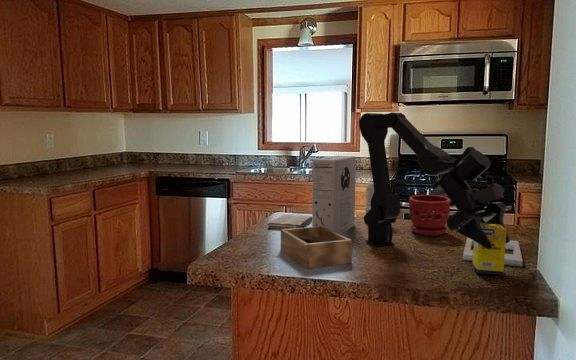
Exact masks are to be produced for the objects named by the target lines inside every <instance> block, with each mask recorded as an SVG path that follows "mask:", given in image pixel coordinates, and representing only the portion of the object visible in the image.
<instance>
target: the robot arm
mask: <svg viewBox="0 0 576 360" xmlns="http://www.w3.org/2000/svg"><path fill="white" fill-rule="evenodd" d="M358 127H359V131H360V134H361V135H360V136H361V137H362V138H363V139H364V141H365V142H366V144H367V148H368V155H369V156H368V157H369V164H370V169H371V176H372V177H371V178H372V182H373V185H374V193H373V196H372V199H371V210H370V211H369V212H368V213H367V214H366V213H365V215H364V216H363V222H364V224H365V225H367V229H368V230H367V233H368V234H367V239H365V241H364V242H366V243H368V244H370V245H372V246H374V247H383V246H384V247H385V246H391V245H392V246H393V245H395V242H393V232H394V231H393V227H392V224H395V223H396V221H397V217H398V216H399V215H400V214H401V208H402V207H403V206H402V204H401V196H400V194H399V193H395V192H394V191H393V189H392V187H391V180H390V173H389V164H388V157H387V151H386V145H385V142H386V139H387V135H388V133H389V130H388V129H392V130H393V132H395V133H396V134H397V135H398V136H399V137H400V139H401V140H402V141H403V142H404V144H406V145H407V146H408V147H409V149H411V150H412V152H413V153H414V155H415V156H416V158H417V159H416V160H417V163H418V165H419V166H420V168H421V169H422V171H423V172H424V173H425V174H426V175H428V176H437V175H441V176H440V177H439V178H435V179H433V184H432V187H431V189H432V190H442V191H443V193H444V194H445V195H446V197H447V198H449V199H450V203H449V204H450V208H452V207H453V208H454V207H455V208H456V209H457V211H456V212H454V213H453V214H452V215H451V216H449V218H448V219H447V223H446V225H445V226H446V228H447V229H449V231H450V233H451V232H455V231H456V234H461V235H462V236H464V237H466V238H467V237H468V238H470V239H472V240H474V241H475V242H477V243H479V244H481V245H482V246H484V247H486V248H487V249H490V248H491V247H492V245H491V243H490V241H489V239H488V238H487V236H486V234H485V233H484V231H483V230H482V228H481V226H480V223H481V222H482V223H484V224H500V225H501V226H502V227H504V228H505V229H506V226H505V223H504V215H505V214H506V211H507V210H508V207H507V206H506V204H505V203H504V202H501V201H496V202H492V201H495V200H501V199H503V198H505V196H504V192H505V188H503V187H502V185H501V184H499V183H498V182H494V183H492V184H488V185H487V187H486V188H481V189H479V190H478V189H477V188H471V186H470V185H469V183H467V181H469V182H474V181H475V180H476V179H477V178H479V177H480V176H481V175H482V174H483V173H484V172H485V171H486V170H487V169H489V168H490V167H491V165H492V164H491V160H490V159H489V157H488V156H487V155H486V154H483V153H482V152H481V151H479V150H477V149H475V147H474V146H468V147H466V148H465V149H464V151H463V152H462V154H460V155H459V156H458V157H457V158H454V157H452V156H451V154H450V153H448V152H447V151H445V150H444V149H443V148H440V147H438V146H436V145H434V144H433V143H431V142H430V141H429V140H428V139H427V138H426V137H425V136H424V135H423V134H422V133H421V132H420V131H419V130H418V128H416V127H415V126H414V125H413V123H411V122H410V120H408V118H407V117H406V115H405V114H404V113H402V112H393V111H392V112H388V113H380V112H379V113H377V112H375V113H374V112H373V113H372V112H365V113H363V114H362V115H361V116H360V118H359V120H358ZM510 240H511V239H510V236H509V234H508V232H507V231H506V243H508V242H509V241H510Z"/></svg>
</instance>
